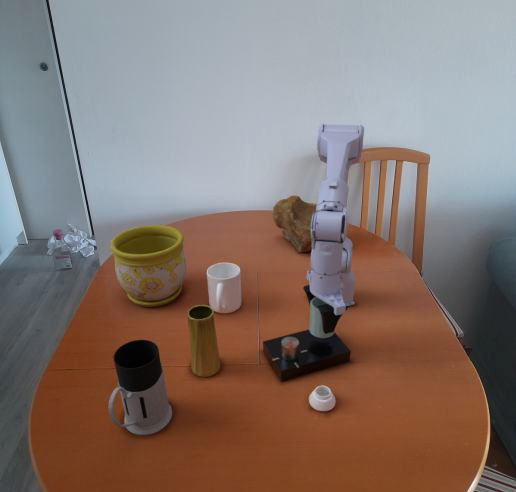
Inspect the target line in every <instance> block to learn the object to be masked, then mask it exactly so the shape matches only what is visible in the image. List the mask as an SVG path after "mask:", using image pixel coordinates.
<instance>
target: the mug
mask: <svg viewBox="0 0 516 492" xmlns="http://www.w3.org/2000/svg"><path fill="white" fill-rule="evenodd" d="M241 275H242V274H241V268H240V266H239V265H238V264H235V263H232V262H218V263H214V264H212V265H210V266H209V267H208V268H207V270H206V279H207V291H208V304H209V306H210V307H212V308H213V310H214V313H218V314H231V313H234V312H236V311H238V310H239V309H240V307H241V306H242V301H243V300H242V298H243V297H242V278H241V277H242V276H241Z"/></svg>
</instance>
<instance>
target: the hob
mask: <svg viewBox="0 0 516 492" xmlns="http://www.w3.org/2000/svg"><path fill="white" fill-rule="evenodd" d="M286 337H294V338H296V339H298V341H299V357H298V358H297V359H296V360H294V361H287V360H284V359H283V358H282V356H281V342H282V340H283V339H284V338H286ZM262 352H263V354H264V356H265V357H266V359H267V361H268V362H269V364H270V366H271V367H272V369H273V371H274V372H275V374H276V377H278V379H279V381H280V382H286V381H289V380H292V379H296V378H298V377H302V376H303V377H304V376H305V375H309V374H313V373H316V372H320V371H323V370H327V369H329V368H333V367H336V366H339V365H343V364H347V363H350V362H351V353H352V350H351V349H350V348H349V346H347V345H346V343H345V342H344V341H343V340H342V338H340V337H339V335H338V334H337V333H336V331H335V332H334V334H333V335H332V336H331V337H328V338H319V337H316V336H314V335H312V334H311V333H310V331H309V329H305V330H301V331H297V332H292V333H289V334H286V335H282V336H278V337H274V338H271V339H267V340H263V341H262Z"/></svg>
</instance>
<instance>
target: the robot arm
mask: <svg viewBox="0 0 516 492" xmlns="http://www.w3.org/2000/svg"><path fill="white" fill-rule="evenodd" d="M364 136H365V126H364V125H363V124H359V125H354V124H353V125H352V124H325V123H321V124H320V125H319V126H318V129H317V137H316V150H317V155H318V157H319V161H320V162H323V163H325V164H326V179H324V180H322V181H321V183H320V184H319V187H318V194H317V200H316V204H317V207H316V213H313V215H312V220H311V239H312V250H311V251H310V265H309V266H310V269H311V270H307V271H306V280H307V281H308V284H306V285H304V286H303V287H302V288H303V291H304V293H305V296H306V297H307V301H308V304H309V306H310V303H311V300H312V299H313V298H315V297H318V298H319V299H321V300H322V301H324V302H326V303H327V304H324V305H319V306H318V309H319V311H320V313H321V317H322V326H323V332H324V333H325V334H328V333H332V332H334V330H335V331H336V327H337V325H338V322H340V319H341V318H342V317H343V315H345V314H346V312H347V311H348V307H349V306H354V305H355V304H356V303H355V300H354V296H355V295H354V294H355V285H356V278H355V274H354V272H353V270H352V263H353V246H354V245H353V242H352V240H351V239H350V238H348V236H347V232H348V231H347V230H348V221H349V220H348V217H349V216H348V207H347V206H348V199H349V186H348V175H349V171H350V170H351V167H352V165H355V164H358V163H360V159H362V153H363V148H364V147H363V146H364Z"/></svg>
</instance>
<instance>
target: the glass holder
mask: <svg viewBox="0 0 516 492" xmlns="http://www.w3.org/2000/svg"><path fill="white" fill-rule="evenodd" d="M159 350H160V349H159V347H158V345H157V344H156V343H155V342H154V341H152V340H147V339H134V340H131V341H128V342H125V343H124V344H122V345H120V346H119V347H118V348H117V349H116V350H115V352H114V354H113V364H114V368H115V372H116V375H117V387H115V388H114V390H113V391H112V393H111V395H110V397H109V400H108V412H109V416H110V420H111V421H112V423H113V424H114V425H115V426H117V427H119V428H121V429H122V428H126V429H127V431H129V433H131V434H133V435H138V436H148V435H153V434H155V433H158V432H159V431H161V430H163V429H164V428H165V427H166V426H168V425H169V423H170V422H171V420H172V417H173V410H172V406H171V405H170V403H169V398H168V394H167V393H168V392H167V386H166V380H165V373H164V368H163V365H162V362H161V356H160V351H159ZM118 393H119V394H120V398H121V401H122V402H121V403H122V407H123V411H124V418H123V422H124V423H123V424H122V423H120V422H119V421H118V420H117V418H116V414H115V411H114V402H115V398H116V397H117V394H118Z"/></svg>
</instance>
